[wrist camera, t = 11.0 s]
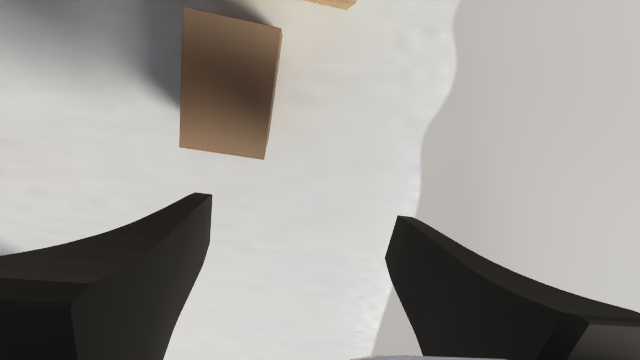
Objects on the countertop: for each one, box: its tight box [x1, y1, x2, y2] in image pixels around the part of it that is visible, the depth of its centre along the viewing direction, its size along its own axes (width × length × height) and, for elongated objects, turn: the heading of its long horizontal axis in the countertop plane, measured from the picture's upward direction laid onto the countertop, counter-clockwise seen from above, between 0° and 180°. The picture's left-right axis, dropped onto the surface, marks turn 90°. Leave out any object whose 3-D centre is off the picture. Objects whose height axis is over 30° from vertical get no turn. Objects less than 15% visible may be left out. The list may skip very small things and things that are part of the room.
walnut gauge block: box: [179, 7, 282, 160], centre depth 16 cm, size 6×4×5 cm, turn 169°
